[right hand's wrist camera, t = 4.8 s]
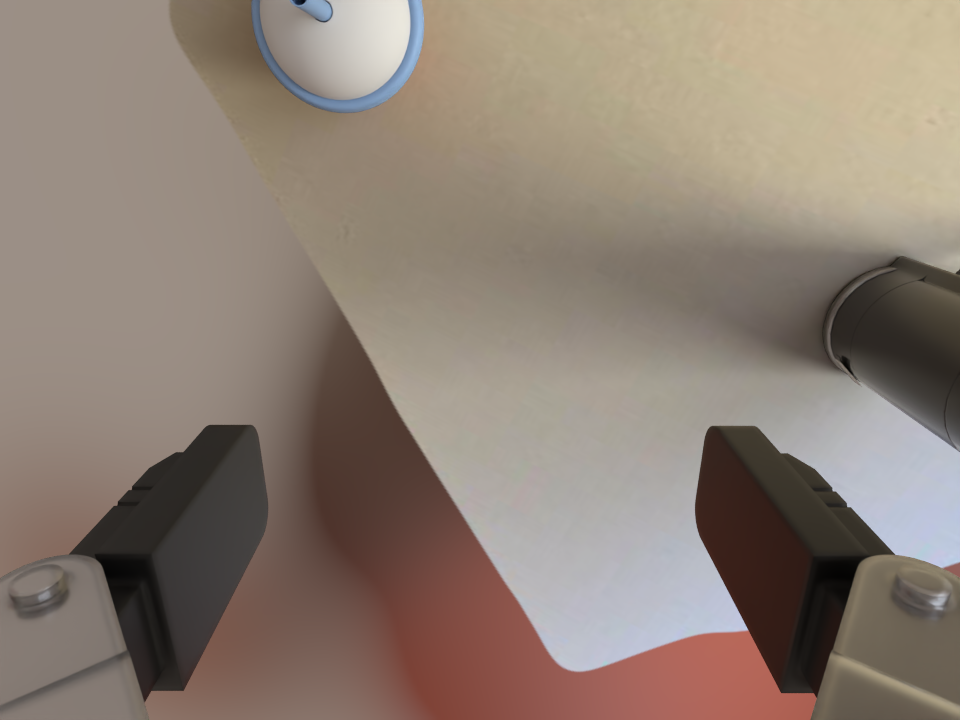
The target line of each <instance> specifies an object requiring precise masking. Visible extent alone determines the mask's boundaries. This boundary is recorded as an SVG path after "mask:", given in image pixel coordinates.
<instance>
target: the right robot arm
mask: <svg viewBox="0 0 960 720" xmlns="http://www.w3.org/2000/svg"><path fill="white" fill-rule="evenodd" d="M823 341H824V346H825V350H826V352H827V354H828V356H829V358H830V359H831V361H832V362H833V363H834V364H835V365H836V366H837V367H838V368H839V369H841V370H842V371H844V372H845V373H846V374H848V375H849V376H850V377H851V379H852V380H853V381H854V382H856V383H857V384H858V385H860V384H859V383H858V382H857V381H856V380H858V381H859V382H861V383H863V384H864V385H866V386H867V387H868V388H870V389H871V390H873V391H874V392H875V393H877V394H878V395H880V396H881V397H883V398H884V399H885V400H887V401H888V402H890V403H891V404H892V405H894V406H895V407H897V408H898V409H900V410H901V411H902V412H904V413H905V414H907V415H908V416H909V417H911V418H912V419H914V420H915V421H917V422H918V423H919V424H921V425H922V426H924V427H925V428H927V429H928V430H929V431H931V432H932V433H934V434H935V435H936V436H938V437H939V438H941V439H942V440H944V441H945V442H946V443H948V444H949V445H951V446H952V447H953V448H955V449H956V450H958V451H959V452H960V270H959V271H958V272H957V273H956V274H954V273H951V272H948V271H945V270H942V269H939V268H936V267H933V266H930V265H927V264H924V263H921V262H918V261H915V260H913V259H910V258H907V257H904V256H902V257H900V258H898V259H897V260H896V261H895V262H894V263H893V264H892V265H891V266H887V267H882V268H879V269H875V270H872V271H870V272H868V273H866V274H863V275H862V276H860V277H858V278H857V279H855V280H854V281H852V282H851V283H850V284H849V285H848V286H846V287H845V288H844V289H843V290H842V291H841V293H840V294H839V295H838V296H837V297H836V299H835V300H834V302H833V303H832V305H831V307H830V309H829V311H828V313H827V316H826V319H825V322H824V327H823ZM860 386H861V385H860ZM861 387H862V386H861ZM695 516H696V524H697V529H698V532H699V535H700V538H701V540H702V542H703V543H704V545H705V547H706V549H707V551H708V553H709V555H710V557H711V559H712V561H713V563H714V565H715V567H716V568H717V570H718V572H719V574H720V576H721V578H722V580H723V582H724V584H725V586H726V588H727V590H728V592H729V594H730V595H731V597H732V599H733V601H734V603H735V605H736V607H737V609H738V611H739V613H740V615H741V617H742V619H743V620H744V622H745V624H746V626H747V628H748V630H749V632H750V634H751V636H752V638H753V640H754V642H755V643H756V645H757V647H758V649H759V651H760V653H761V655H762V657H763V659H764V661H765V663H766V665H767V666H768V668H769V670H770V672H771V674H772V676H773V678H774V680H775V682H776V684H777V686H778V688H779V690H780V692H781V693H814V694H815V696H816V698H817V700H816V703H815V706H814V710H813V713H812V716H811V720H960V578H959V577H957V576H956V575H954V574H952V573H950V572H948V571H947V570H944V569H942V568H940V567H938V566H936V565H933V564H930V563H928V562H925V561H922V560H918V559H915V558H911V557H906V556H899V555H895V554H894V553H893V552H892V551H891V550H890V549H889V548H888V547H887V545H886V544H885V543H884V542H883V541H882V540H881V539H880V538H879V537H878V536H877V535H876V534H875V533H874V532H873V531H872V530H871V528H870V527H869V526H868V525H867V524H866V523H865V522H864V521H863V520H862V519H861V518H860V517H859V516H858V515H857V514H856V513H855V511H854V510H853V509H852V508H851V507H847V503H846V502H845V501H844V500H843V499H842V498H841V497H840V496H839V494H838V493H837V492H833V491H832V487H831V486H830V485H829V484H828V483H827V482H826V481H825V480H824V479H823V477H822V476H821V475H820V474H819V473H818V472H817V471H816V470H815V469H813V468H812V467H810V466H808V465H807V464H805V463H803V462H802V461H800V460H798V459H796V458H795V457H793V456H791V455H790V454H781V453H780V452H779V451H778V450H777V449H776V448H775V446H774V445H773V444H772V443H771V442H770V441H769V440H768V439H767V437H766V436H765V435H764V434H763V433H762V432H761V431H760V430H759V429H758V428H757V427H756V426H711V427H710V428H709V429H708V430H707V433H706V436H705V440H704V447H703V454H702V460H701V467H700V474H699V481H698V488H697V494H696V502H695ZM267 518H268V498H267V492H266V485H265V478H264V471H263V464H262V457H261V450H260V443H259V437H258V433H257V431H256V429H255V427H254V426H252V425H208V426H206V427H205V428H204V429H203V431H202V432H201V433H200V434H199V435H198V436H197V437H196V439H195V440H194V441H193V442H192V443H191V444H190V445H189V447H188V448H187V449H186V450H185V451H184V452H176V453H174V454H172V455H171V456H169V457H167V458H166V459H164V460H162V461H161V462H159V463H157V464H155V465H154V466H152V467H150V468H149V469H148V470H147V471H146V472H145V473H144V474H143V475H142V477H141V478H140V479H139V480H138V481H137V482H136V483H135V484H134V485H133V486H132V490H129V491H128V492H127V493H126V494H125V495H124V496H123V497H122V498H121V499H120V500H119V501H118V505H117V506H114V507H113V508H112V509H111V510H110V511H109V512H108V513H107V514H106V515H105V516H104V517H103V518H102V519H101V520H100V522H99V523H98V524H97V525H96V526H95V527H94V528H93V529H92V530H91V531H90V532H89V533H88V534H87V535H86V537H85V538H84V539H83V540H82V541H81V542H80V543H79V544H78V545H77V546H76V547H75V548H74V549H73V551H72V552H71V553H70V554H69V555H61V556H54V557H49V558H45V559H42V560H38V561H35V562H32V563H30V564H27V565H24V566H22V567H20V568H18V569H16V570H14V571H12V572H10V573H8V574H6V575H4V576H3V577H1V578H0V720H149V716H148V713H147V710H146V706H145V701H146V699H147V697H148V696H149V694H150V692H151V691H184V689H185V687H186V685H187V683H188V681H189V679H190V677H191V675H192V673H193V671H194V669H195V668H196V666H197V664H198V662H199V660H200V658H201V656H202V654H203V652H204V650H205V648H206V646H207V644H208V642H209V640H210V638H211V636H212V634H213V632H214V631H215V629H216V627H217V625H218V623H219V621H220V619H221V617H222V615H223V613H224V611H225V609H226V607H227V605H228V603H229V601H230V599H231V597H232V596H233V593H234V592H235V589H236V588H237V586H238V584H239V582H240V580H241V578H242V576H243V574H244V572H245V570H246V568H247V566H248V564H249V562H250V560H251V559H252V557H253V555H254V553H255V551H256V549H257V547H258V545H259V543H260V541H261V539H262V537H263V535H264V532H265V528H266V524H267Z"/></svg>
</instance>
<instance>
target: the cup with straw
mask: <svg viewBox="0 0 960 720" xmlns="http://www.w3.org/2000/svg"><path fill="white" fill-rule="evenodd" d="M251 6H252V23H253V28H254V33H255V37H256V41H257V43H258V46H259V49H260V51H261V53H262V56H263V58H264V60H265V62H266V63H267V65H268V67H269V68H270V70H271V71H272V73H273V74H274V75H275V77H276V78H277V79H278V80H279V82H280V83H281V84H282V85H283V86H284V87H285V88H286V89H288V90H289V91H290V92H291V93H292V94H294V95H295V96H296V97H298V98H299V99H301V100H302V101H304V102H306V103H308V104H310V105H312V106H314V107H317V108H320V109H322V110H326V111H331V112H338V113H353V112H360V111H364V110H368V109H371V108H373V107H376V106H378V105H380V104H382V103H383V102H385V101H387V100H388V99H389V98H391V97H392V96H393V95H394V94H395V93H397V92H398V91H399V90H400V88H401V87H402V86H403V85H404V84H405V83H406V81H407V80H408V78H409V77H410V75H411V73H412V72H413V70H414V68H415V66H416V63H417V61H418V58H419V55H420V51H421V48H422V42H423V34H424V15H423V7H422V1H421V0H252V4H251Z"/></svg>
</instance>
